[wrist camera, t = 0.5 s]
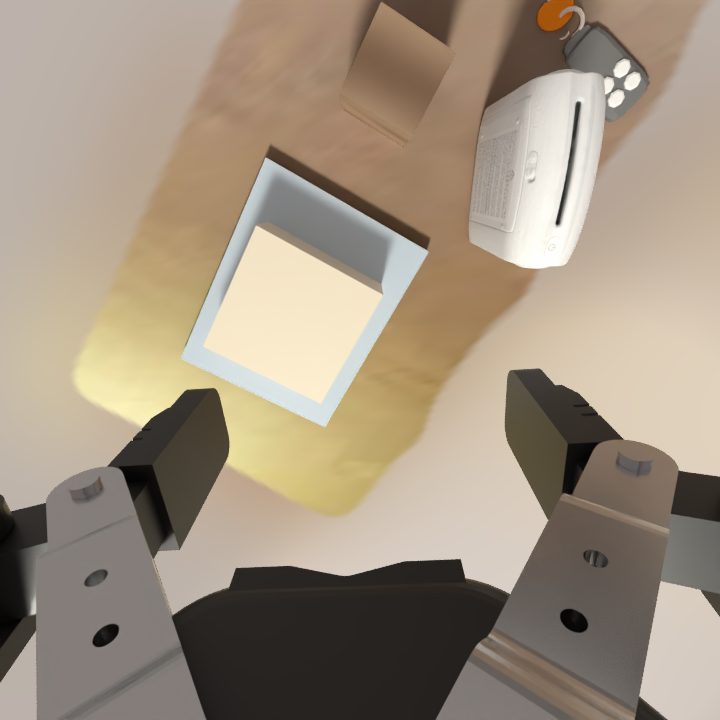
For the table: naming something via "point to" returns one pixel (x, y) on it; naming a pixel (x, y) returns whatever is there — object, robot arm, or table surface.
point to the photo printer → (537, 168)
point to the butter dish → (300, 295)
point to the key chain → (597, 57)
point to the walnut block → (394, 75)
